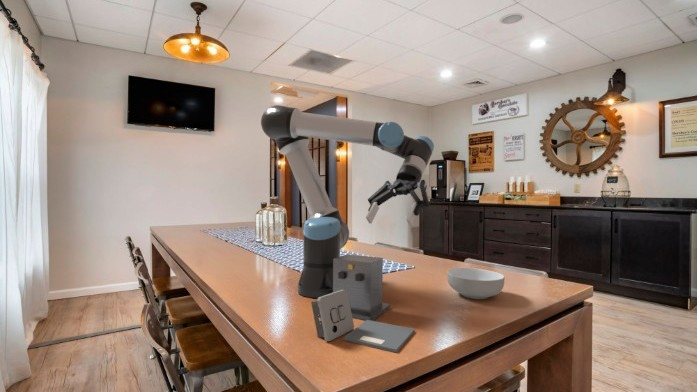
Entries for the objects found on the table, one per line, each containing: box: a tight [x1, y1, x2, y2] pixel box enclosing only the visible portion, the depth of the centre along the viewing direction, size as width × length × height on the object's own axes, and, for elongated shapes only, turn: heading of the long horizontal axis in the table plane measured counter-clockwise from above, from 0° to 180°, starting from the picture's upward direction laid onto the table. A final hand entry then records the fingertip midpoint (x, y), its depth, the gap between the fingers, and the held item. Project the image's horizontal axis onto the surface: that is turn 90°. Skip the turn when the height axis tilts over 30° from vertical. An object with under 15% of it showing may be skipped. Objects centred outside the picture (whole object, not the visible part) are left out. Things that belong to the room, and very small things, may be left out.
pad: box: [343, 320, 415, 353], centre depth 77 cm, size 12×12×1 cm
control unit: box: [333, 253, 391, 321], centre depth 94 cm, size 14×12×14 cm
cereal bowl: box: [446, 267, 505, 300], centre depth 109 cm, size 17×17×7 cm
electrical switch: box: [310, 290, 355, 342], centre depth 79 cm, size 9×5×9 cm, turn 141°
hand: (388, 221), depth 102 cm, fingers open, 13 cm apart
